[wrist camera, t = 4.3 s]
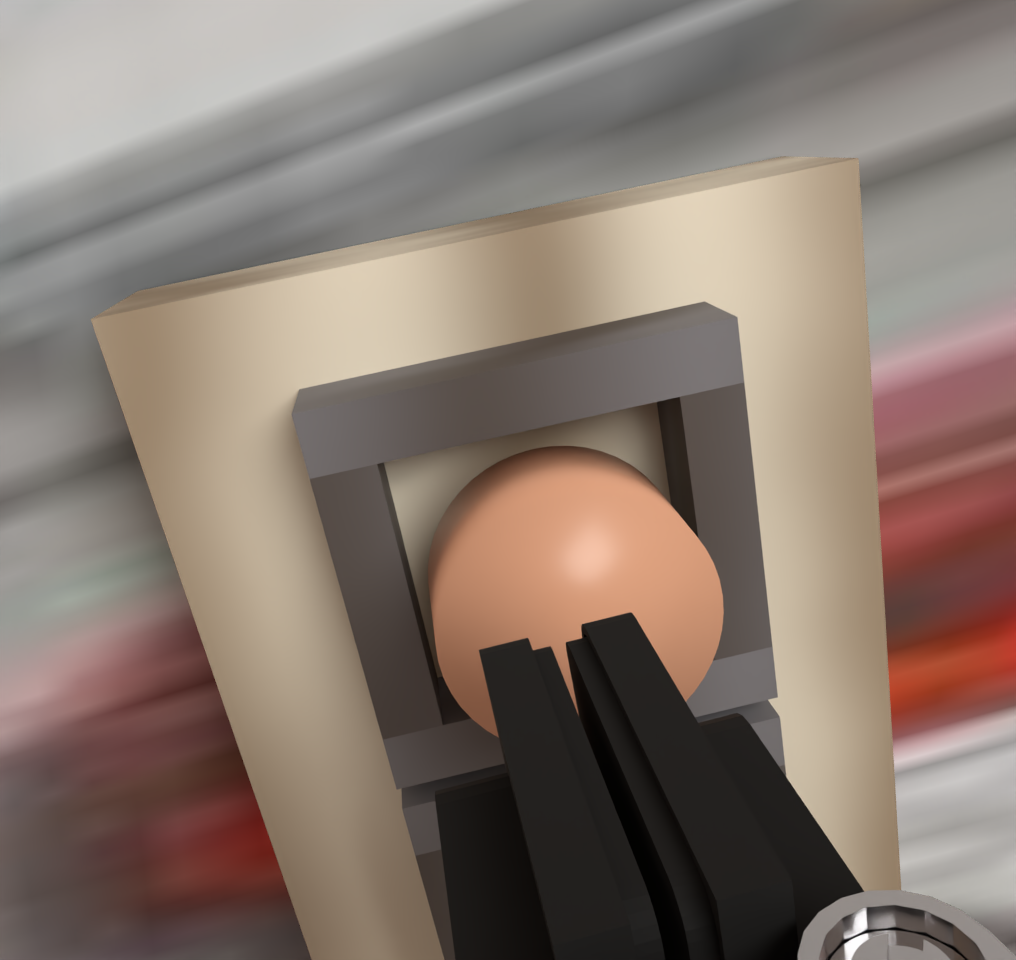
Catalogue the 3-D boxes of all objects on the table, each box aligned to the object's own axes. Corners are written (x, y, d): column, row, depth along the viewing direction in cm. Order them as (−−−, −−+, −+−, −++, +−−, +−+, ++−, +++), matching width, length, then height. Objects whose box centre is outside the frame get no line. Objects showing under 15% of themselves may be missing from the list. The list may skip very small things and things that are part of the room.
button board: (782, 156, 18) (907, 159, 14) (859, 1070, 26) (953, 1249, 22) (138, 290, 17) (59, 337, 13) (428, 1186, 25) (438, 1393, 21)
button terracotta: (663, 419, 14) (706, 460, 12) (695, 649, 16) (738, 716, 14) (401, 478, 14) (404, 529, 12) (457, 705, 16) (467, 782, 14)
